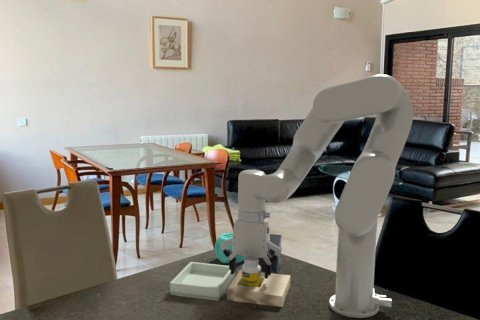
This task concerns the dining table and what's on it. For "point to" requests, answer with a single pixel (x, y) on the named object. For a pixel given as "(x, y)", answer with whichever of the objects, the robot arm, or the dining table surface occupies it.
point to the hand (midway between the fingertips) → (250, 274)
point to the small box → (276, 264)
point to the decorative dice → (219, 251)
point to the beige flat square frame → (260, 290)
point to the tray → (202, 281)
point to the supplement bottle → (251, 272)
